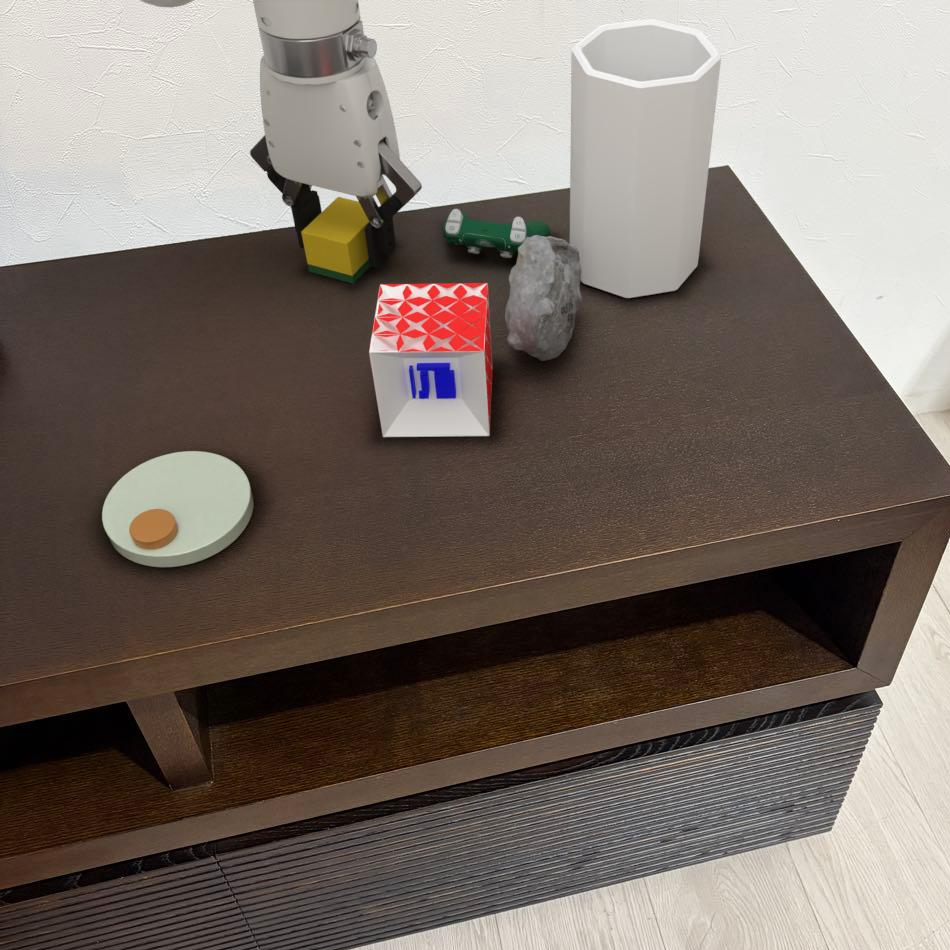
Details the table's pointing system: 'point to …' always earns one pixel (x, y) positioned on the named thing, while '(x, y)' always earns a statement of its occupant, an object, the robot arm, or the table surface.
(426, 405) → the puzzle cube
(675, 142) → the cup
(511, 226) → the gaming controller
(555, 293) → the stone
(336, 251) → the sponge
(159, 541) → the orange flat disc
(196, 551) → the plate
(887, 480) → the table surface
